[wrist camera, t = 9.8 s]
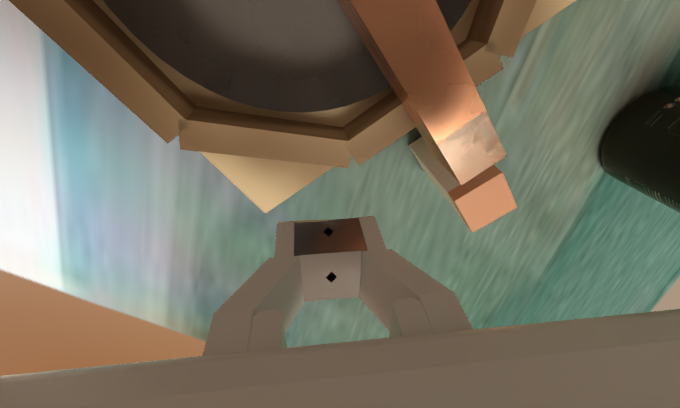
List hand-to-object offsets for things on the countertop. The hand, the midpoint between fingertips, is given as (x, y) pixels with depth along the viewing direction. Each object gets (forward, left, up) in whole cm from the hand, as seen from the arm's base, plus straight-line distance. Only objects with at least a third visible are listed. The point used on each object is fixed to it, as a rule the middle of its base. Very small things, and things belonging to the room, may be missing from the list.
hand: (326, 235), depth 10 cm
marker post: (-6, +6, -11) cm, 13 cm away
